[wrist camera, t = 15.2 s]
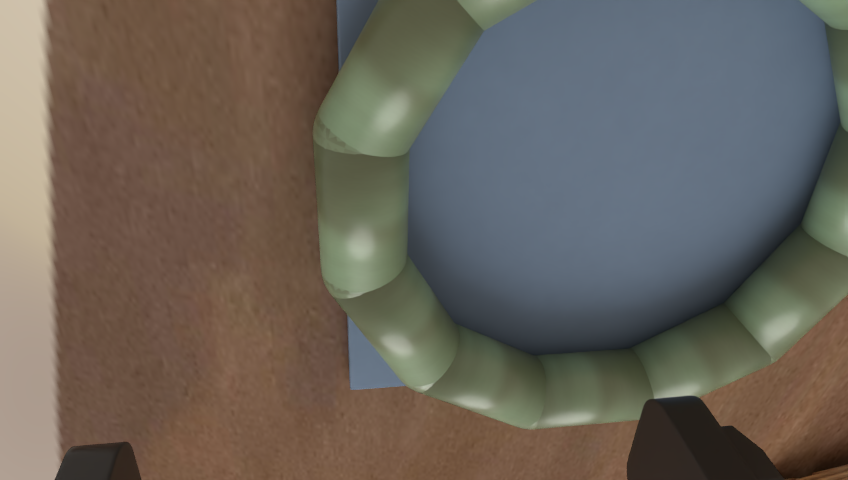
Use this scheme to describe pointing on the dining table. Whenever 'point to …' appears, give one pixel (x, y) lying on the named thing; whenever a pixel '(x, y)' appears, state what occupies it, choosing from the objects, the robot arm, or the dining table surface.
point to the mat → (610, 167)
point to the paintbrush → (828, 474)
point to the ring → (488, 358)
